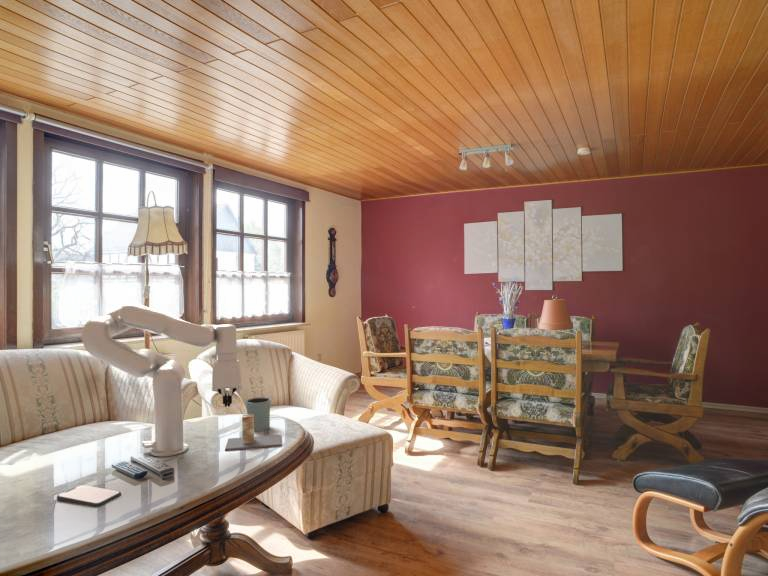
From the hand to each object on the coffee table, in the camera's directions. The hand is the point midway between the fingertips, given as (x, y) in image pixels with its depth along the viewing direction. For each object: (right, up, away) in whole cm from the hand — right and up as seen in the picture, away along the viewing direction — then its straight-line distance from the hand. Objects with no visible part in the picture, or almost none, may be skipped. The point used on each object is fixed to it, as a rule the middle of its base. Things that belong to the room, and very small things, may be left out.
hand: (227, 405), depth 187 cm
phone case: (-26, -17, -43) cm, 54 cm away
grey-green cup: (+6, -15, +22) cm, 27 cm away
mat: (+9, -15, +2) cm, 18 cm away
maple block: (+7, -14, +2) cm, 16 cm away
